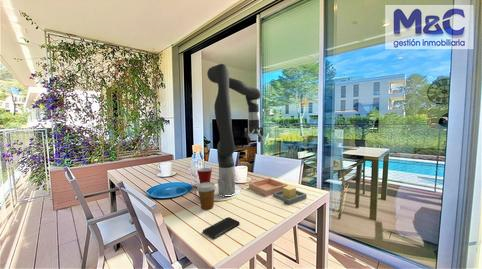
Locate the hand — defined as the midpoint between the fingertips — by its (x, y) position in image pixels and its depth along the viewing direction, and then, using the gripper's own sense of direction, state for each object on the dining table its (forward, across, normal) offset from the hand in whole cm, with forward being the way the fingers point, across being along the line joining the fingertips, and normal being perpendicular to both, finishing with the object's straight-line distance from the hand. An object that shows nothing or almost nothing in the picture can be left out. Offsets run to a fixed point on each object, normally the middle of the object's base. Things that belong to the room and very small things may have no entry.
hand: (254, 142), depth 140 cm
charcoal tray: (+28, 0, +33) cm, 43 cm away
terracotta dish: (+28, +2, +16) cm, 32 cm away
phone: (+28, +46, +39) cm, 66 cm away
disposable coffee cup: (+28, +43, +17) cm, 54 cm away
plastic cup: (+28, +31, -14) cm, 45 cm away
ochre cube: (+27, 0, +33) cm, 42 cm away
